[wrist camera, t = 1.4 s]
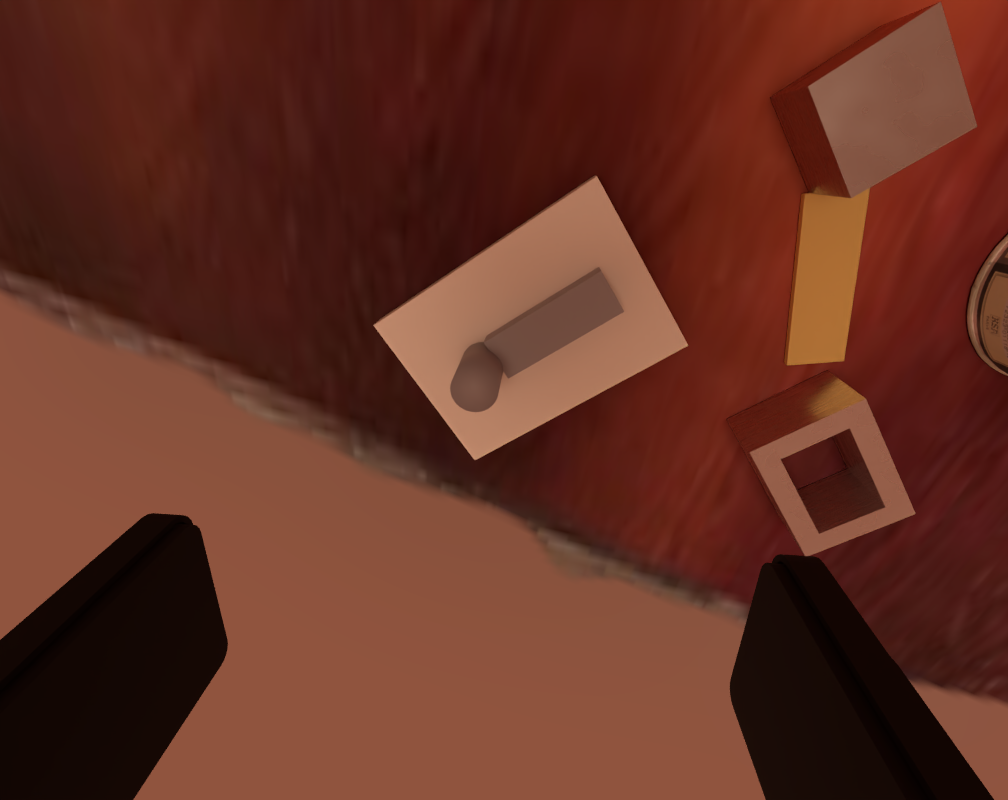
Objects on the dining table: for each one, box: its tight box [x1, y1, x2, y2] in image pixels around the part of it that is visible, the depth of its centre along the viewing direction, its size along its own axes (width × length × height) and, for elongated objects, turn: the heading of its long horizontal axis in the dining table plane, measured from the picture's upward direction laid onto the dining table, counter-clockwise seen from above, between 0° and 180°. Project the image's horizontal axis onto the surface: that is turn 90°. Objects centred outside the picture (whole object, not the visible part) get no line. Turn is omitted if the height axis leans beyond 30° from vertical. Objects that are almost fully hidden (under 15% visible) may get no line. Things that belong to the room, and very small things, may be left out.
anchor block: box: [770, 2, 977, 198], centre depth 23 cm, size 5×5×4 cm
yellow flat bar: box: [784, 188, 870, 365], centre depth 28 cm, size 9×3×1 cm, turn 7°
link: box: [727, 370, 915, 556], centre depth 30 cm, size 6×8×4 cm
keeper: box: [374, 176, 688, 460], centre depth 28 cm, size 14×10×6 cm
